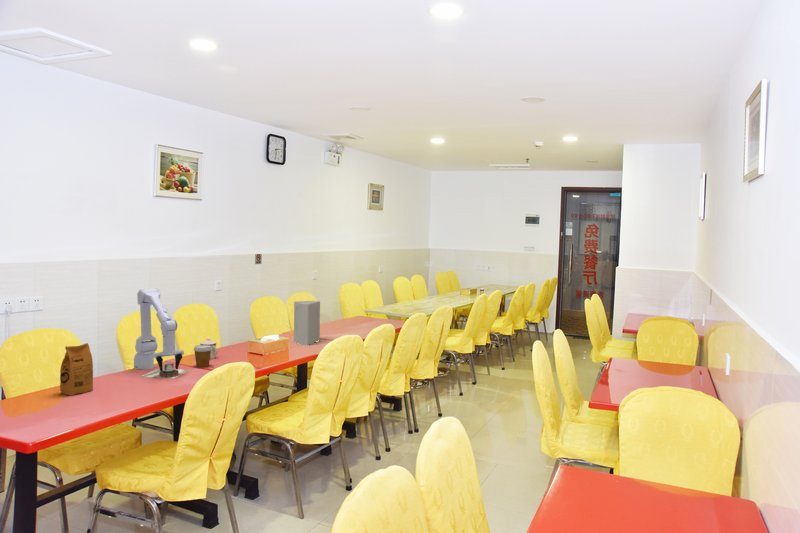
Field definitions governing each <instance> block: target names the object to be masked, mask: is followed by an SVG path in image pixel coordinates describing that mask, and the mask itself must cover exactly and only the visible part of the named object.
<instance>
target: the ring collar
mask: <svg viewBox="0 0 800 533" xmlns="http://www.w3.org/2000/svg"><path fill="white" fill-rule="evenodd" d="M178 370H179V369H178ZM178 370H174V372H173V373H164V370H163V371H160V372H159V376H160V377H162V378H161V379H172V378H171V377H175V378H177V377H176V376H178ZM178 377H179V376H178Z"/></svg>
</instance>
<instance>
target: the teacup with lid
mask: <svg viewBox="0 0 800 533" xmlns="http://www.w3.org/2000/svg"><path fill="white" fill-rule="evenodd" d="M199 345H210V346H211V348H212V349H211V354H210V360H214V359H215V358H216V357H217V355H218V353H219V348H218V347H217V341H214V340H211V338H210V337H208V338H206V340H203V341H201V342H200V343H199Z"/></svg>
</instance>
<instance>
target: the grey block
mask: <svg viewBox="0 0 800 533" xmlns="http://www.w3.org/2000/svg"><path fill="white" fill-rule="evenodd" d="M293 303H294V304H293V343H294V342H296V343H295V344H297V343H299V344H301V345H300V346H302V345H309V344H312V343H314V342H316V341H318V340H320V339H321V338H320V337H321V336H320V334H321V333H320V332H321V331H320V328H321V327H320V326H321V301H320V300H300V301H299V300H297V301H296V300H295V301H294V302H293ZM320 341H321V340H320ZM299 344H298V345H299ZM314 344H315V343H314ZM312 345H313V344H312ZM309 346H310V345H309Z"/></svg>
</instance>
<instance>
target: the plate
mask: <svg viewBox="0 0 800 533" xmlns="http://www.w3.org/2000/svg"><path fill="white" fill-rule="evenodd" d="M163 370H164V368H163ZM174 370H178V376H176V377H171V378H170V379H176V378H177V377H180V376H181V375H183V374H186V373H188V372H190V371H191V370H190V369H179V368H178V369H174ZM159 372H160V368H157V369H154V370H152V371H150V372H147V373H145V374H143V375H140V376H139V377H140V378H156V379H157V378H159V379H163V378H162V377H160V376H159Z"/></svg>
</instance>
